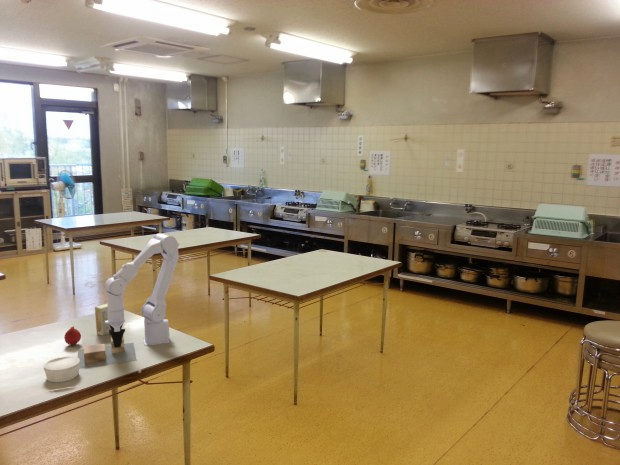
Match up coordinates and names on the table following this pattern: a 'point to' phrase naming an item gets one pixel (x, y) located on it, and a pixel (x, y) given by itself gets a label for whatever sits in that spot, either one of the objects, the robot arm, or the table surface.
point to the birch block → (117, 349)
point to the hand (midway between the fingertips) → (117, 343)
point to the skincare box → (102, 319)
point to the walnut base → (94, 353)
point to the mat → (111, 356)
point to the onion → (72, 336)
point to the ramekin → (62, 369)
